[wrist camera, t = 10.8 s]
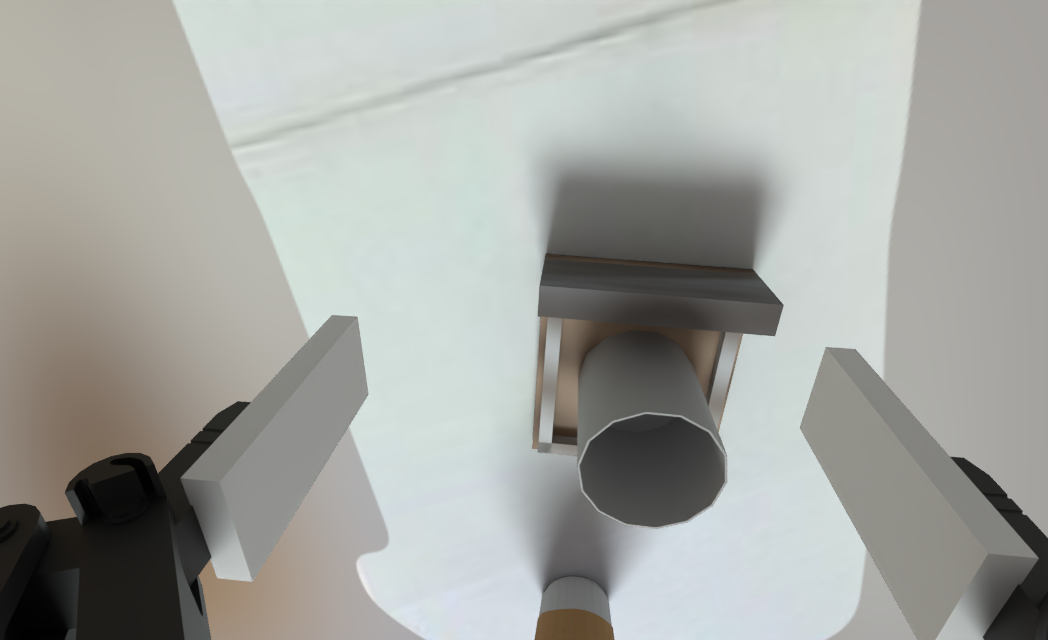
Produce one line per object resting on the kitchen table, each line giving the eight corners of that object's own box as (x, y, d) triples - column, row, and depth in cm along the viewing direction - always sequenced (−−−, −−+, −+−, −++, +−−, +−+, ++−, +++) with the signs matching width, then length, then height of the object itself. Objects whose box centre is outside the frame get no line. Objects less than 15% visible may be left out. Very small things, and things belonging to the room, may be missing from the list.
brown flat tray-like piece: (545, 253, 37) (539, 285, 32) (753, 269, 36) (783, 304, 31) (533, 440, 44) (526, 493, 38) (707, 457, 43) (725, 514, 37)
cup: (705, 336, 37) (744, 422, 28) (683, 432, 41) (712, 535, 32) (583, 325, 38) (584, 405, 29) (572, 421, 41) (570, 518, 32)
